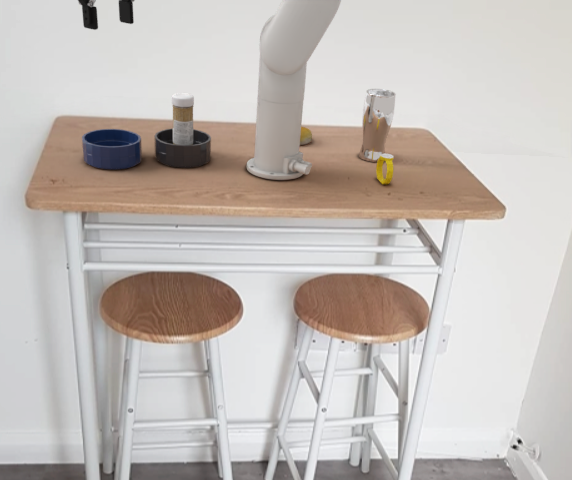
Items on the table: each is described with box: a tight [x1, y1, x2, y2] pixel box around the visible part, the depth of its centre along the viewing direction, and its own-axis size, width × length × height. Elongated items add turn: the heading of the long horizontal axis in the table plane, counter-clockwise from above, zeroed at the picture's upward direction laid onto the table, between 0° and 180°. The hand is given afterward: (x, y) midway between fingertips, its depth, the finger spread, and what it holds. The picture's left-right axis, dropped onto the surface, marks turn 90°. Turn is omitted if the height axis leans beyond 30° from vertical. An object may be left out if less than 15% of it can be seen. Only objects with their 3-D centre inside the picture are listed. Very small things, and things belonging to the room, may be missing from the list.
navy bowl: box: [81, 128, 143, 171], centre depth 150 cm, size 12×12×5 cm
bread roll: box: [300, 125, 313, 146], centre depth 171 cm, size 8×9×4 cm
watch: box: [375, 153, 395, 185], centre depth 151 cm, size 6×3×6 cm, turn 16°
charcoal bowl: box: [153, 127, 212, 169], centre depth 154 cm, size 12×12×5 cm
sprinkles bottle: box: [171, 92, 195, 145], centre depth 151 cm, size 5×5×14 cm
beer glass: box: [358, 88, 397, 163], centre depth 162 cm, size 7×7×15 cm
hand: (109, 25), depth 138 cm, fingers open, 9 cm apart
